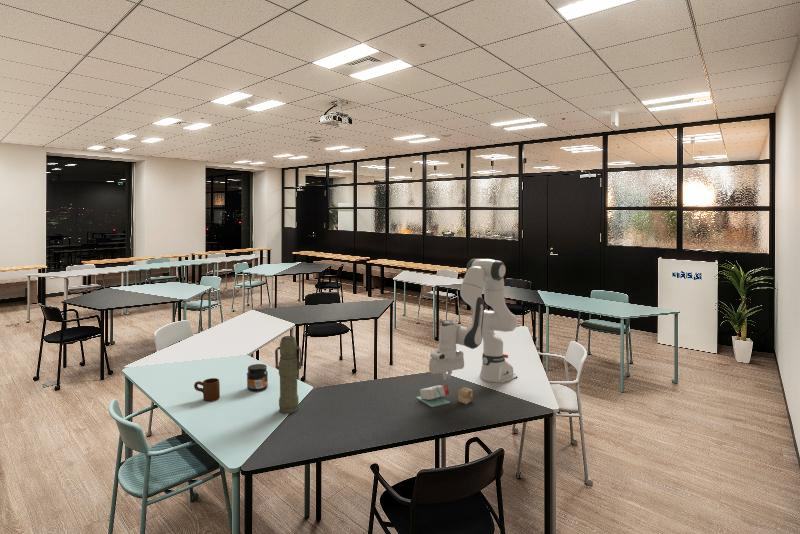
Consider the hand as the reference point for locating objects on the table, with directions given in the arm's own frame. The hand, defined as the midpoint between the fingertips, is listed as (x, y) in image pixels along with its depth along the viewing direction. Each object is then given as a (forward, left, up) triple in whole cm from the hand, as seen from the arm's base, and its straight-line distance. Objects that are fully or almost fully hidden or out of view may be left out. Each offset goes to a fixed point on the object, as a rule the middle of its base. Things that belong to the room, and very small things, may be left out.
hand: (446, 379), depth 232 cm
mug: (+105, -57, -10) cm, 120 cm away
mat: (+8, 0, -9) cm, 13 cm away
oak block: (-5, +9, -9) cm, 14 cm away
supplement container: (+80, -59, -10) cm, 100 cm away
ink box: (+1, -1, -6) cm, 6 cm away
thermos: (+74, -24, -10) cm, 79 cm away
